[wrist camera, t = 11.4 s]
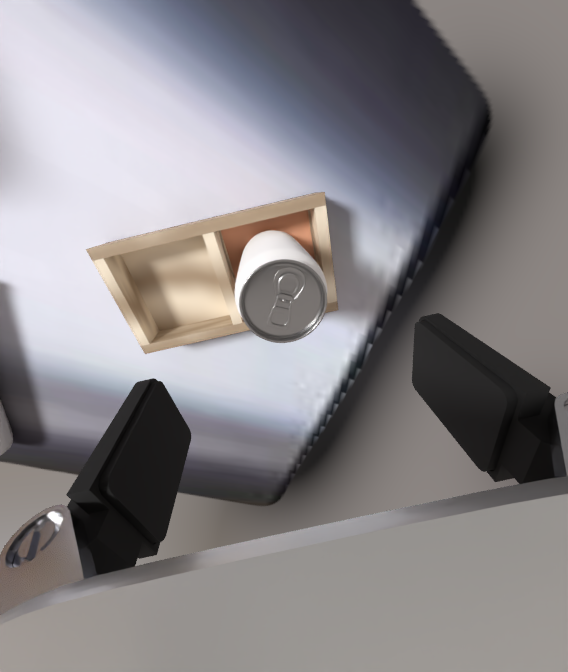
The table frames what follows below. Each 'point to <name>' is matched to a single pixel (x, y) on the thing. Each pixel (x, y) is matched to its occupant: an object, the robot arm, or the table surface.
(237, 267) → the slot rack
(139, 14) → the table surface
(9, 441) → the tube
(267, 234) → the can
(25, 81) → the table surface
